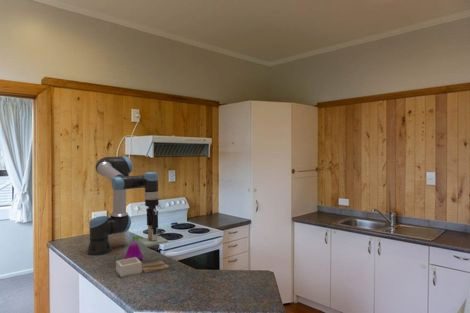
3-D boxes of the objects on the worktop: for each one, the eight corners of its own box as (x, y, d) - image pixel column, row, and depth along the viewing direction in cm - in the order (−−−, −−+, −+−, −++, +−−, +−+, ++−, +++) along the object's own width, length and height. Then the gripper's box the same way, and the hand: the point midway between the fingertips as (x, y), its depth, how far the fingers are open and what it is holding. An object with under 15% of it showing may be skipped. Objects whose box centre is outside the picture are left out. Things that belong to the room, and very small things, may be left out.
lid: (138, 241, 187) (137, 225, 187) (159, 237, 194) (159, 222, 194) (145, 246, 176) (144, 229, 176) (167, 242, 183) (167, 226, 183)
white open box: (116, 271, 179) (115, 260, 179) (135, 267, 185) (135, 256, 185) (121, 277, 170) (120, 266, 170) (141, 272, 176) (141, 262, 176)
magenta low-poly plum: (137, 263, 191) (136, 238, 191) (120, 263, 193) (120, 238, 193) (146, 257, 202) (145, 234, 202) (130, 257, 204) (129, 233, 204)
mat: (137, 266, 187) (137, 264, 187) (160, 261, 195) (160, 260, 195) (145, 273, 175) (145, 272, 175) (169, 267, 183) (169, 266, 183)
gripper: (140, 197, 190) (141, 236, 190) (150, 201, 175) (151, 243, 175) (152, 196, 194) (153, 234, 194) (163, 199, 179) (164, 241, 179)
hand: (152, 238), depth 185 cm, fingers closed on lid, 5 cm apart
